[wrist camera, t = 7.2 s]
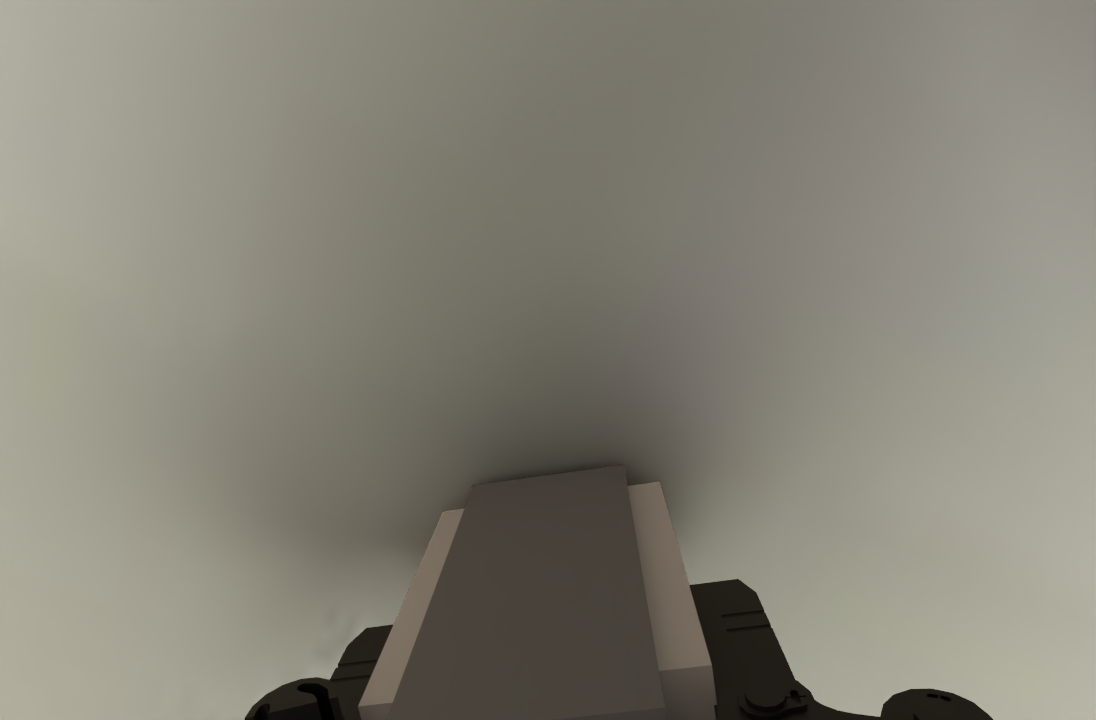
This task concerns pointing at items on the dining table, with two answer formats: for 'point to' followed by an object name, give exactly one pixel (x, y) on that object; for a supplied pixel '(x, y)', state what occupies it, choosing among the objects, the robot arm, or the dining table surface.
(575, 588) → the cube dumbbell
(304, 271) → the dining table surface
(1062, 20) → the dining table surface
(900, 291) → the dining table surface
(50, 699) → the dining table surface
